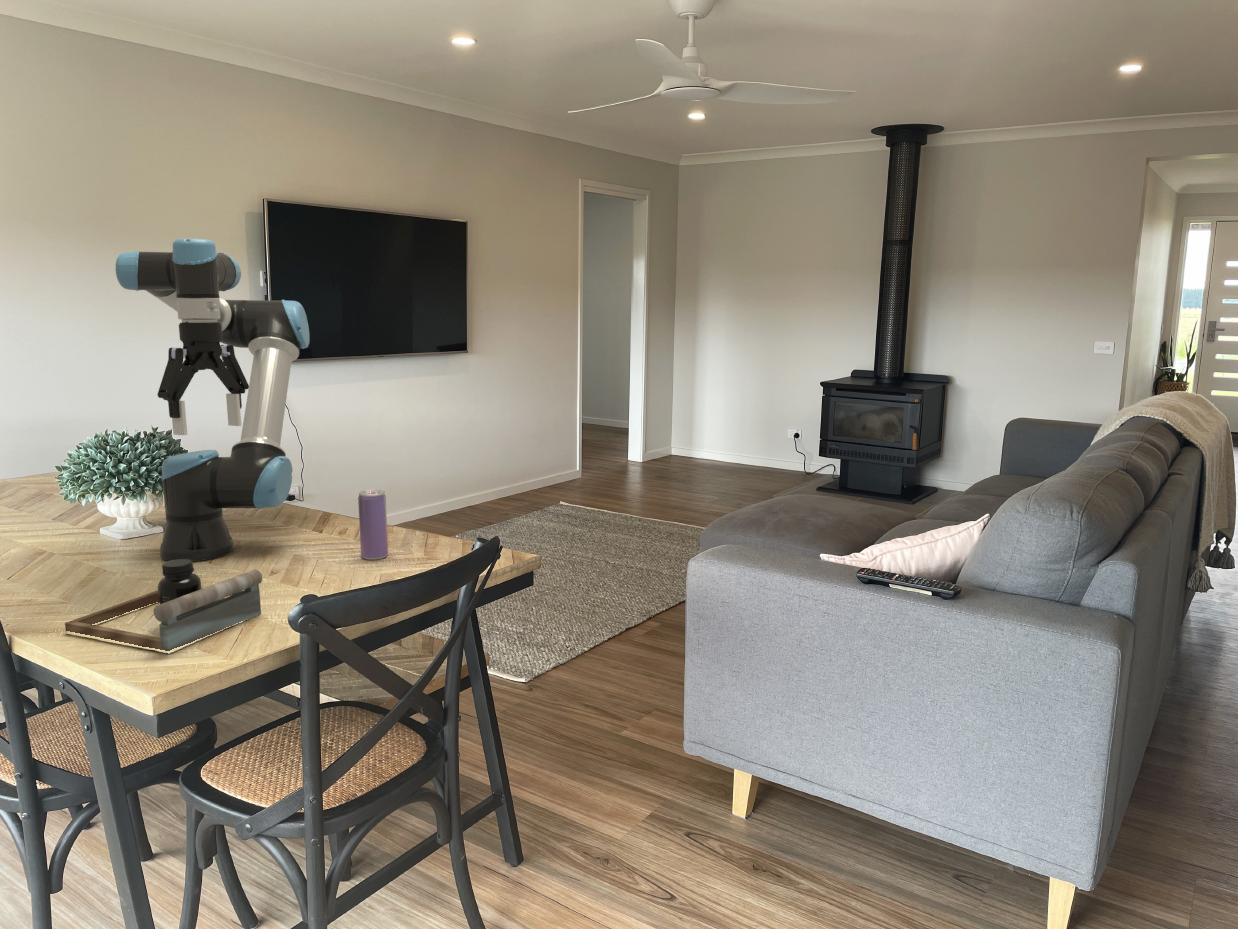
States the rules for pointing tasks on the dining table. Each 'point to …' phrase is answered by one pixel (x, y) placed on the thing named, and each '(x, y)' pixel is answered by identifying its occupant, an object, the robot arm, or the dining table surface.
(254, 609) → the bay
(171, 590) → the supplement bottle
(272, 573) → the dining table surface
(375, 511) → the beverage can
